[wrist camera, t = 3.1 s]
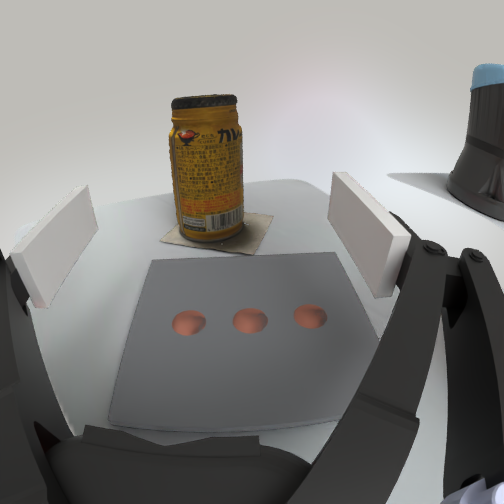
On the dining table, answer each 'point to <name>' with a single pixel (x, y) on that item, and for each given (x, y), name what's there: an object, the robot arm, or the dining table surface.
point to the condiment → (210, 177)
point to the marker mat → (243, 345)
